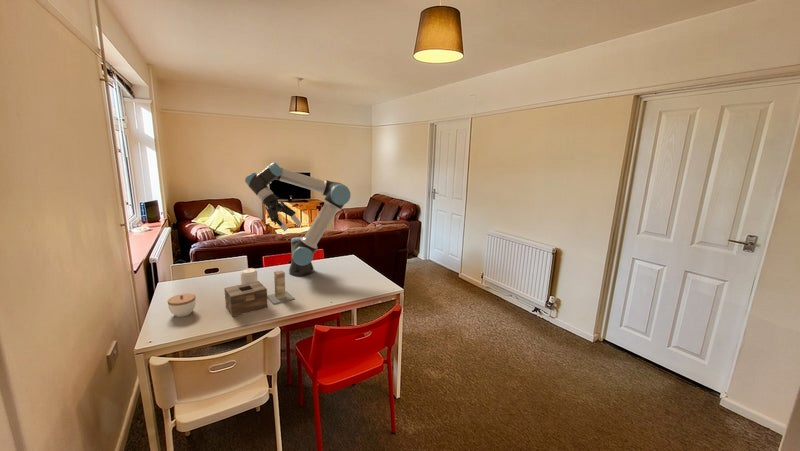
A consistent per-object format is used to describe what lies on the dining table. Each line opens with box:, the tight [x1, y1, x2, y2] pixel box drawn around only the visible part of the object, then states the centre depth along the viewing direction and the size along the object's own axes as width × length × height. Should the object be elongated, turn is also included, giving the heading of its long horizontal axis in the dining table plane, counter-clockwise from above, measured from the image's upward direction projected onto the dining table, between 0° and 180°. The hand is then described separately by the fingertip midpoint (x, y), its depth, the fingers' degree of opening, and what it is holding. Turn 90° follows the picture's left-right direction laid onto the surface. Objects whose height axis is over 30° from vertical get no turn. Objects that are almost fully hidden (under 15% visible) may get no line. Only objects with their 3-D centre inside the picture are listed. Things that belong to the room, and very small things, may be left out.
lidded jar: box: [167, 293, 197, 318], centre depth 149 cm, size 11×11×9 cm
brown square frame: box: [223, 280, 268, 317], centre depth 157 cm, size 13×16×10 cm
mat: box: [267, 290, 295, 305], centre depth 170 cm, size 11×11×1 cm
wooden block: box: [273, 269, 286, 299], centre depth 169 cm, size 4×4×14 cm
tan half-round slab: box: [240, 267, 259, 285], centre depth 176 cm, size 8×8×12 cm
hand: (293, 227), depth 176 cm, fingers open, 13 cm apart
